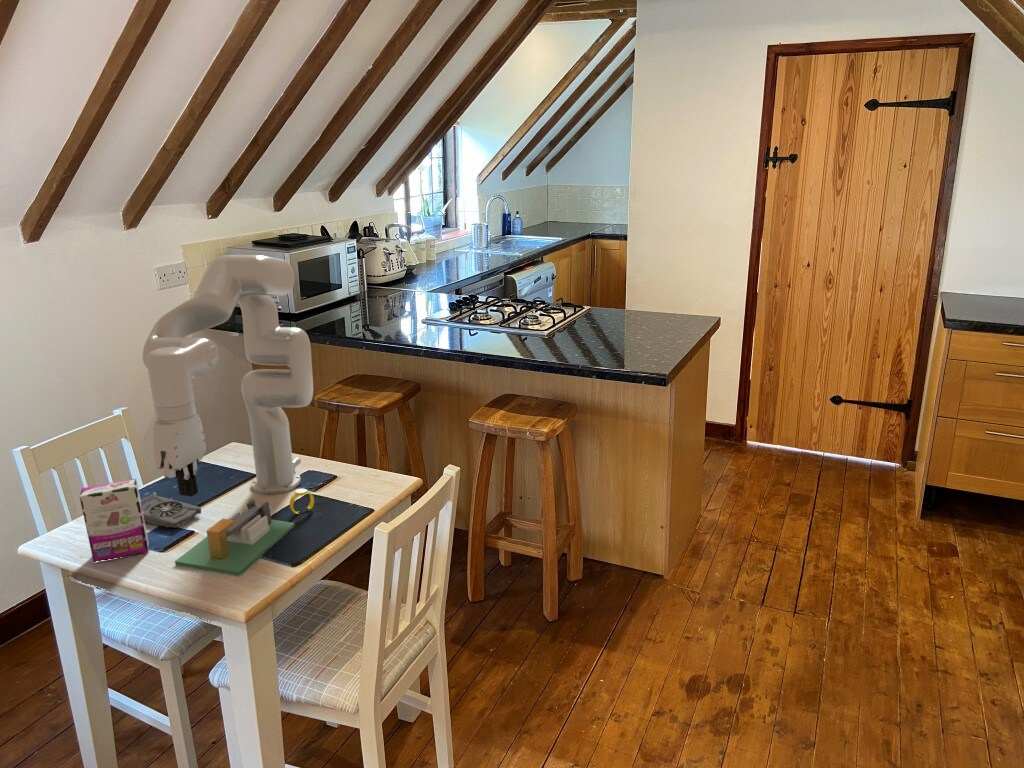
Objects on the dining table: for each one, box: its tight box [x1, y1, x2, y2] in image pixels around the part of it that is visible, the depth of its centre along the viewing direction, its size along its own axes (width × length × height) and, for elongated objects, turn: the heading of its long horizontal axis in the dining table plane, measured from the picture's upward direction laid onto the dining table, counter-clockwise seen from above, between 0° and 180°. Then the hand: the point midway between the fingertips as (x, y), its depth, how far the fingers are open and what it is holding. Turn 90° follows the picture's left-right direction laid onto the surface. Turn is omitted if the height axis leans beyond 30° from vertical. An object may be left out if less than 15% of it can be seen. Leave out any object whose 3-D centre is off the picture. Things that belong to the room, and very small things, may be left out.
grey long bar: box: [226, 503, 262, 537], centre depth 176 cm, size 14×2×1 cm, turn 164°
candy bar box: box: [79, 478, 150, 563], centre depth 170 cm, size 11×5×16 cm, turn 114°
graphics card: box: [141, 492, 202, 528], centre depth 188 cm, size 17×4×12 cm
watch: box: [289, 488, 315, 515], centre depth 190 cm, size 6×3×6 cm, turn 133°
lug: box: [206, 518, 235, 559], centre depth 170 cm, size 6×3×6 cm, turn 164°
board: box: [174, 499, 296, 577], centre depth 175 cm, size 22×16×6 cm
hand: (189, 493), depth 158 cm, fingers closed
